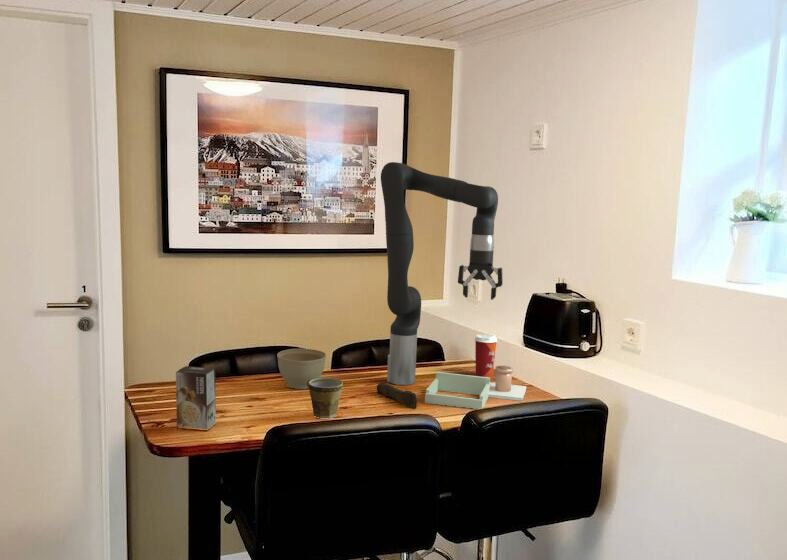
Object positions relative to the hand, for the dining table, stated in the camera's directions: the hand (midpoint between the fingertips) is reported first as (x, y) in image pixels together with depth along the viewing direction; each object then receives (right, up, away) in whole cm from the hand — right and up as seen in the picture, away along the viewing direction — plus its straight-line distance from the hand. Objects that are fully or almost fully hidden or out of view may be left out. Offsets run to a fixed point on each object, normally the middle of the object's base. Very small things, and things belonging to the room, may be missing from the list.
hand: (479, 298), depth 223 cm
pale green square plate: (+9, -32, +7) cm, 34 cm away
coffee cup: (+5, -29, +25) cm, 39 cm away
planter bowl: (-59, -30, +6) cm, 66 cm away
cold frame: (-7, -32, -2) cm, 33 cm away
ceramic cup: (-49, -34, -21) cm, 63 cm away
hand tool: (-26, -33, -5) cm, 42 cm away
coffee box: (-82, -35, -35) cm, 96 cm away
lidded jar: (+9, -31, +7) cm, 33 cm away
